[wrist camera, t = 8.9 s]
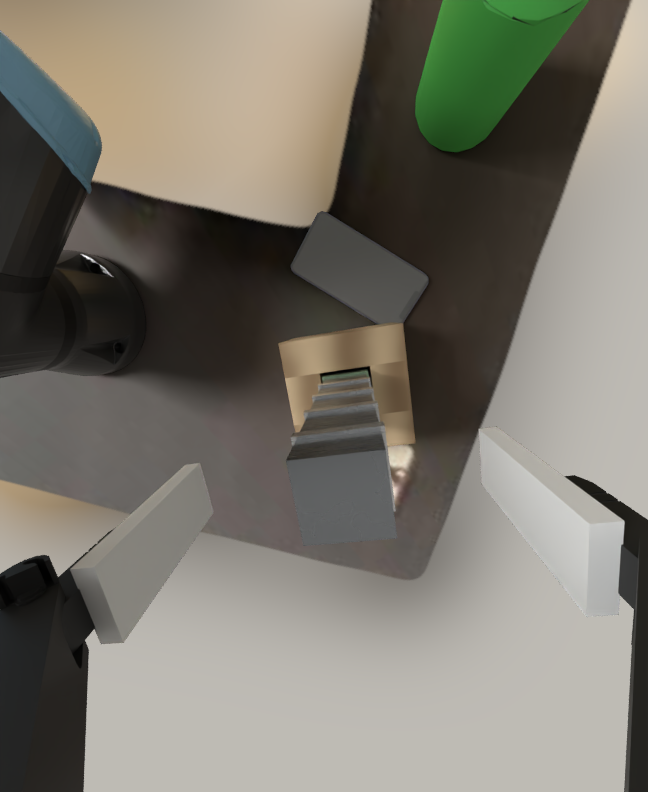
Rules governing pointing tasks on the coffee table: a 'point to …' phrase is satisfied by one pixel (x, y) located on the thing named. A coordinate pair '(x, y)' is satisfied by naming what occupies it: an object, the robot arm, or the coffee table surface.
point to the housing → (347, 351)
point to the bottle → (484, 64)
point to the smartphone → (358, 271)
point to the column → (342, 465)
